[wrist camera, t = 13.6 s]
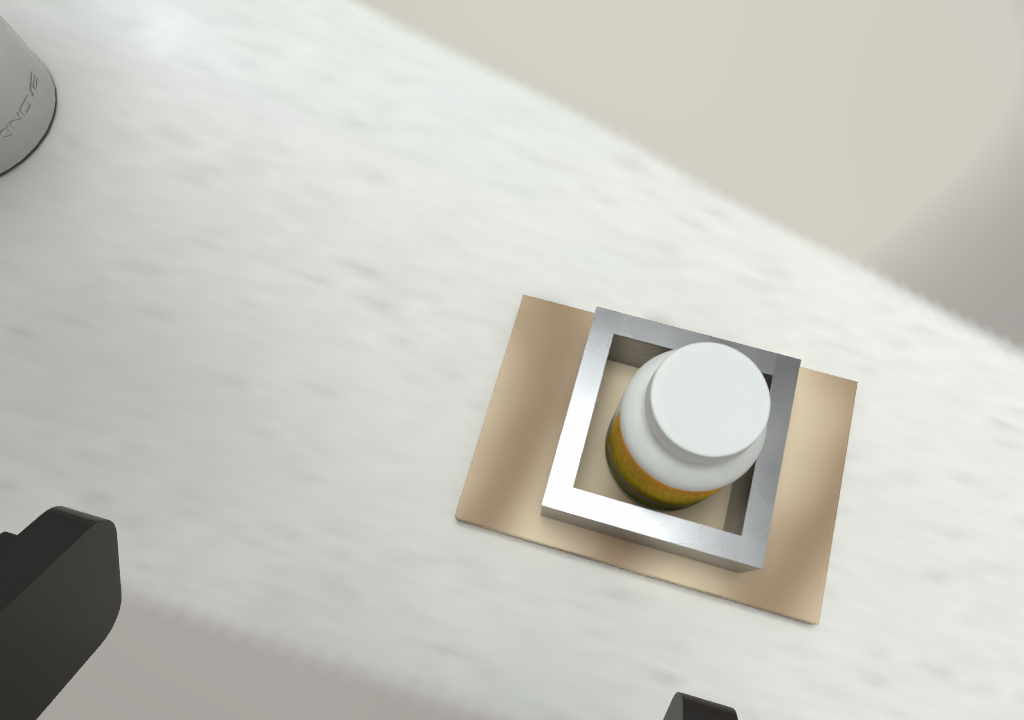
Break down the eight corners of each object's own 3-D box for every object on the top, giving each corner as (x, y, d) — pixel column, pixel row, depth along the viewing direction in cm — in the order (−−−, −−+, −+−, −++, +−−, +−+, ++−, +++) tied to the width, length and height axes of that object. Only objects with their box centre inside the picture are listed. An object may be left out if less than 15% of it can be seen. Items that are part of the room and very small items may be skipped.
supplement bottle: (622, 380, 36) (655, 300, 27) (736, 416, 35) (809, 347, 26) (588, 490, 34) (610, 445, 25) (705, 530, 34) (772, 499, 25)
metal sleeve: (540, 515, 34) (541, 504, 31) (590, 334, 37) (596, 306, 33) (738, 573, 33) (762, 568, 30) (775, 383, 36) (801, 359, 32)
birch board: (456, 519, 35) (454, 516, 34) (523, 302, 38) (523, 294, 37) (810, 624, 33) (818, 624, 32) (849, 387, 37) (857, 381, 36)
